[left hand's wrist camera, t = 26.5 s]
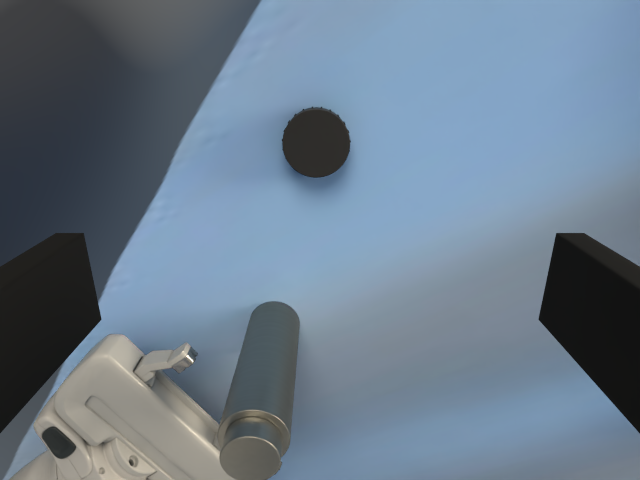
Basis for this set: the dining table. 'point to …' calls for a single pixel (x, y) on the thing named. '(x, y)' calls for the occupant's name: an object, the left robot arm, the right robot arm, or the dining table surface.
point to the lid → (316, 142)
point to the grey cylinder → (261, 395)
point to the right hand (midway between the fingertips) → (226, 386)
